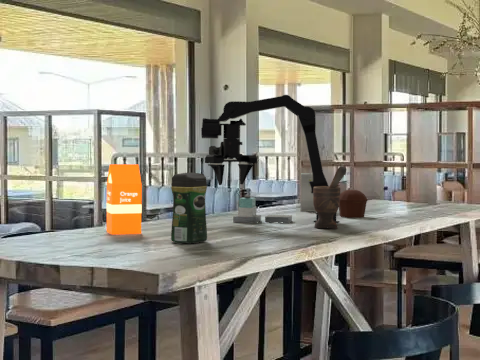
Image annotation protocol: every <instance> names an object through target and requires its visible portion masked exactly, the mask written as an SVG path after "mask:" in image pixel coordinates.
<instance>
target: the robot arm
mask: <svg viewBox="0 0 480 360" xmlns="http://www.w3.org/2000/svg"><path fill="white" fill-rule="evenodd" d="M280 108H285V109H287V110H288V111H290V112H291V113H292V114H294V115H295V116H296V117H297V120H298V123H299V124H300V127H301V130H302V133H303V135H304V139H305V143H306V144H305V145H306V150H307V153H308V154H307V155H308V159H309V160H308V161H309V164H310V170H311V173H312V181H308V182H309V185H310V189H311V190H310V192H311V193H313V187H316V186H328V187H329V186H330V185H329V184H328V181H327V178H326V176H325V174H324V171H323V165H322V160H321V154H320V151H319V144H318V139H317V135H316V128H317V127H316V120H317V119H316V112H315V109H313V107H311V106H304V105H303V104H301V103H300V102H298V101H297V100H296V99H294V98H292V97H291V96H290V95H289V94H283V95H279V96H274V97H270V98H263V99H257V100H252V101H236V100H235V101H228V102H227V103H225V104H224V106H223V109H222V110H223V111H222V113H221V114H220V116H218V118H205V117H204V118H202V123H201V130H200V132H201V139H219V136H223V137H222V138H223V140H222V141H221V142H220V143H219V145H220V146H219V147H218V146H216V145H210V146H209V147H208V154H207V155H206V156H205V157H204V164H207V165H208V167H211V168H212V170H213V171H214V174H215V177H216V180H217V183H218V185H219V186H222V184H223V180H224V172H225V164H224V163H238V164H237V166H238V167H239V183H240V185H244V183H245V181H246V179H247V176H248V175H249V173H250V171H251V169H252V168H253V167H254V166H255V164H258V157H257V156H256V154H254V155H253V154H243V153H241V146H243V141H241V127H242V126H246V123H245V121H244V120H243V119H242V118H241V117H244V116H246V115H250V114H251V113H257V112H262V111H267V110H274V109H280ZM238 118H240V119H238ZM235 119H238V120H235ZM229 120H230V121H229ZM227 121H229V123H225V122H227ZM222 131H223V132H222ZM222 133H223V135H222ZM315 213H316V214H315V215H316V217H315V219H316V220H313V223H316V221H318V219H319V215H318V214H317V212H315ZM333 220H334V221H335V222H336V223H340V221H339V220H337V212H336V213H335V214H334V215H333Z"/></svg>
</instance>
